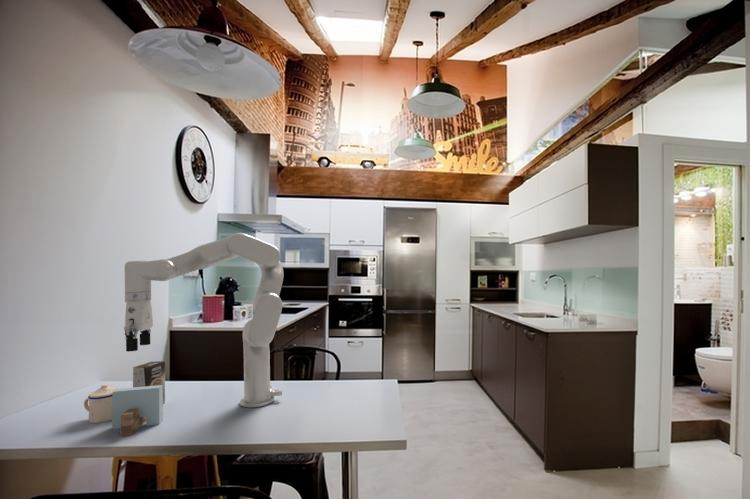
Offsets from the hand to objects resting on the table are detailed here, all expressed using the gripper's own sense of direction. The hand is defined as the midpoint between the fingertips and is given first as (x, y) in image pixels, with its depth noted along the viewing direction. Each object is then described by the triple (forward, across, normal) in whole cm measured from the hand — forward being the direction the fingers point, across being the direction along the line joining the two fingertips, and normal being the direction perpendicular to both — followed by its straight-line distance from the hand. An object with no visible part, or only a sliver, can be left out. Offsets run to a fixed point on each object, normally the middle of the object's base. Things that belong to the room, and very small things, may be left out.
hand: (138, 347), depth 122 cm
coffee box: (+26, +17, +4) cm, 31 cm away
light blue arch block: (+25, 0, 0) cm, 25 cm away
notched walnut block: (+25, 0, +1) cm, 25 cm away
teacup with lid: (+26, +10, +17) cm, 32 cm away
